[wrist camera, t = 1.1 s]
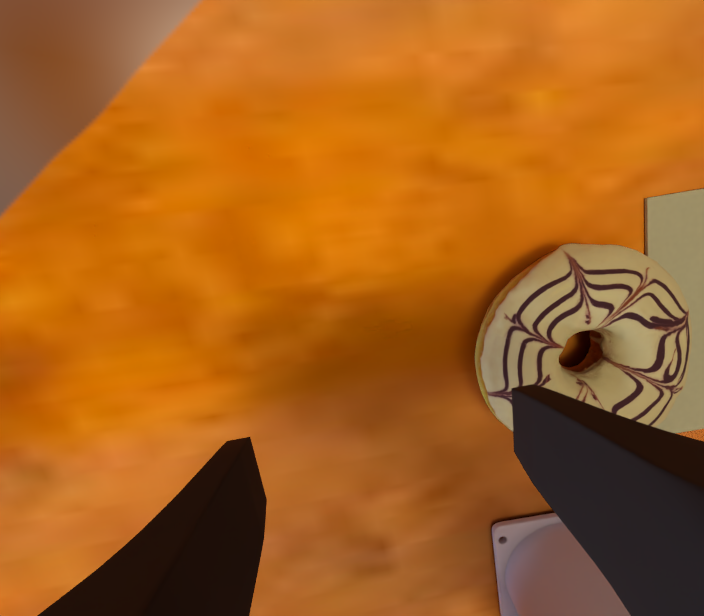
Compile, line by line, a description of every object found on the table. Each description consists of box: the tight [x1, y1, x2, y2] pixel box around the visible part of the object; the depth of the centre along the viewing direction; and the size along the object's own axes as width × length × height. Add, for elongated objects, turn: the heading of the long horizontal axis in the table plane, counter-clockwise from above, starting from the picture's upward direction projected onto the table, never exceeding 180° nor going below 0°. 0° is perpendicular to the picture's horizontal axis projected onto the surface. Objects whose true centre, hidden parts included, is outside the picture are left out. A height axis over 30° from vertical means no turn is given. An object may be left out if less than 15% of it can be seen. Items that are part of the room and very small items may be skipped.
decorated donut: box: [475, 243, 692, 431], centre depth 20 cm, size 10×11×4 cm
